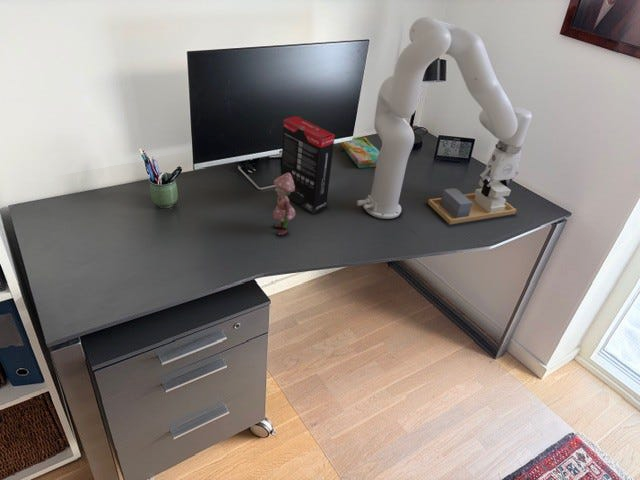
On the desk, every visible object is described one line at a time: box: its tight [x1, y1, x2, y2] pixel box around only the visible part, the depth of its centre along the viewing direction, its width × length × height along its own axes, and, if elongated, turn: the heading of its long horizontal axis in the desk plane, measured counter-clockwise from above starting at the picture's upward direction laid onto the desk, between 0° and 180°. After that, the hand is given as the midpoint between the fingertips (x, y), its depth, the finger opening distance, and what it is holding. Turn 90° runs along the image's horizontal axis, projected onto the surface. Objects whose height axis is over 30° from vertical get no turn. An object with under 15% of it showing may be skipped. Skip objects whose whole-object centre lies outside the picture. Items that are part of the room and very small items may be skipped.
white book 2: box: [473, 187, 507, 207], centre depth 174 cm, size 6×9×2 cm
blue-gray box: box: [440, 197, 471, 218], centre depth 169 cm, size 5×10×3 cm, turn 22°
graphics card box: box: [280, 115, 336, 214], centre depth 160 cm, size 17×7×27 cm, turn 47°
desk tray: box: [427, 192, 517, 225], centre depth 173 cm, size 28×14×2 cm, turn 112°
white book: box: [474, 196, 506, 213], centre depth 175 cm, size 6×9×2 cm
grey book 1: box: [441, 187, 473, 212], centre depth 168 cm, size 5×10×3 cm, turn 22°
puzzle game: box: [339, 137, 380, 169], centre depth 198 cm, size 12×5×20 cm
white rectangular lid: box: [478, 178, 512, 198], centre depth 171 cm, size 6×9×2 cm
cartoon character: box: [272, 173, 296, 236], centre depth 147 cm, size 10×7×20 cm
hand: (492, 193), depth 173 cm, fingers closed on white rectangular lid, 6 cm apart
